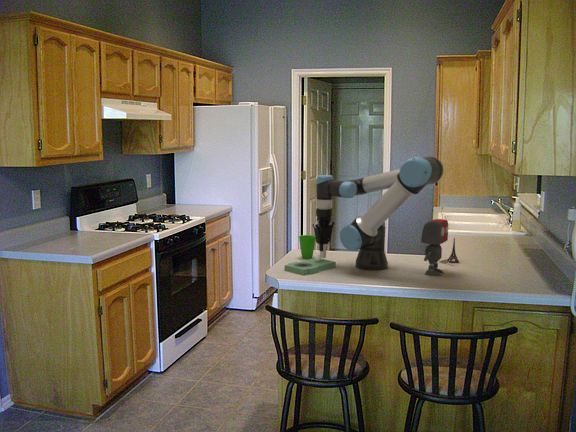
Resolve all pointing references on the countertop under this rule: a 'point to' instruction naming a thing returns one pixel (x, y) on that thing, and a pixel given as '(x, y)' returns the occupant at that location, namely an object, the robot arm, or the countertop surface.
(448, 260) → the eiffel tower figurine
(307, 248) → the cup
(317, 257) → the ball
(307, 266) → the green flat slab
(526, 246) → the countertop surface
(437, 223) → the toy robot
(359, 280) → the countertop surface
